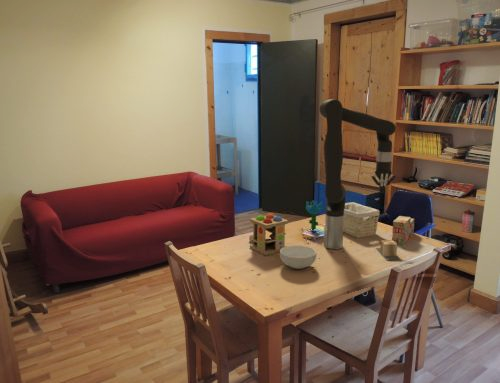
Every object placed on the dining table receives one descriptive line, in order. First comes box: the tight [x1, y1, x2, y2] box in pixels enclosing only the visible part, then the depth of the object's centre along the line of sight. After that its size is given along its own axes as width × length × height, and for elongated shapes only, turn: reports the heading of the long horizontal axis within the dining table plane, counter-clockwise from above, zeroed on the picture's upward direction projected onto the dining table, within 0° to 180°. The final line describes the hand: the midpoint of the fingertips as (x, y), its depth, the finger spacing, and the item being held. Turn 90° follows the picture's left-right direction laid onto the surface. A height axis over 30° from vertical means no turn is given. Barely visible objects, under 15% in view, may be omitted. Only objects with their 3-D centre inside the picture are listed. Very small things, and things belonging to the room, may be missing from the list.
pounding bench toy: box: [248, 212, 289, 256], centre depth 216 cm, size 23×14×18 cm, turn 34°
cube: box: [379, 239, 398, 256], centre depth 205 cm, size 6×6×6 cm
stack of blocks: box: [391, 215, 415, 245], centre depth 228 cm, size 21×6×12 cm, turn 146°
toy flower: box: [305, 199, 323, 230], centre depth 239 cm, size 9×9×18 cm
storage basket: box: [343, 201, 380, 238], centre depth 240 cm, size 24×16×15 cm
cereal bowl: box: [279, 245, 317, 270], centre depth 192 cm, size 17×17×7 cm
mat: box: [375, 247, 403, 262], centre depth 206 cm, size 7×17×1 cm, turn 1°
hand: (382, 192), depth 218 cm, fingers closed
